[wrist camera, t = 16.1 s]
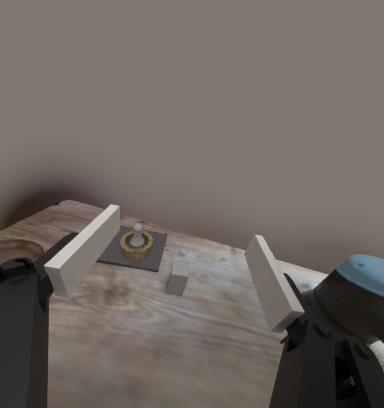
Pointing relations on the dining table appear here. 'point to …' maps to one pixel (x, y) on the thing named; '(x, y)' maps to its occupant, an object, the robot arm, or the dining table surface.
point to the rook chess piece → (137, 236)
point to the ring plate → (134, 250)
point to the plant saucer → (20, 249)
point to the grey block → (178, 277)
